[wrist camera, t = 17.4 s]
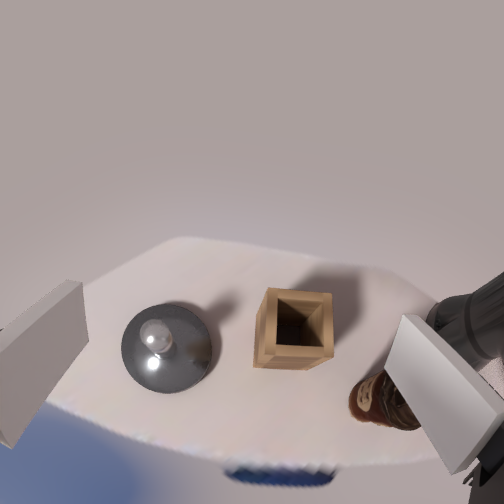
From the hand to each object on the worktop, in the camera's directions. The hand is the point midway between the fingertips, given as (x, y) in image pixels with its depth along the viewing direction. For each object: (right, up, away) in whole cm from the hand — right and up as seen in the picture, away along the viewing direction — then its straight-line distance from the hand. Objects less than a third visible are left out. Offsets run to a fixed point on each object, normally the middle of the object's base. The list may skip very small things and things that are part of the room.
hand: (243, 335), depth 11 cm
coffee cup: (+16, -18, +26) cm, 35 cm away
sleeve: (+4, -9, +29) cm, 31 cm away
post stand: (-11, -10, +27) cm, 30 cm away
